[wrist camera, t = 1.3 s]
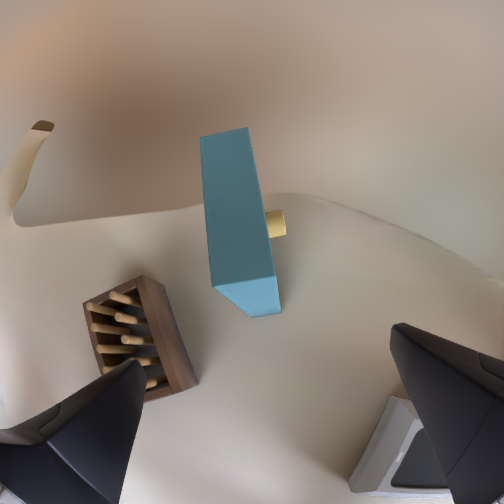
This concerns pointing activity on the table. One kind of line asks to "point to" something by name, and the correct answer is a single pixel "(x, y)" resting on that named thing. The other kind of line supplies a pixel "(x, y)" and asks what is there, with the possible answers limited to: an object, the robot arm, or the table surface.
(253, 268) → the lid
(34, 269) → the table surface
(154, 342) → the plate rack
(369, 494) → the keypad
